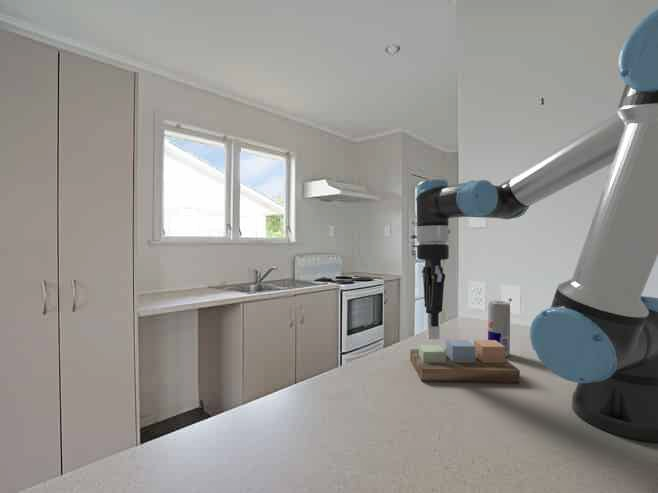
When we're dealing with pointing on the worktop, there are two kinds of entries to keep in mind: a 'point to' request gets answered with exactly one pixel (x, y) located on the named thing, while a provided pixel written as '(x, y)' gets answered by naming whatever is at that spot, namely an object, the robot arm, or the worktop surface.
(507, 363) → the board
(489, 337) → the beverage can
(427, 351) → the sage button
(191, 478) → the worktop surface
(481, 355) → the terracotta button
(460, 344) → the slate button
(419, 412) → the worktop surface
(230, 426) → the worktop surface
